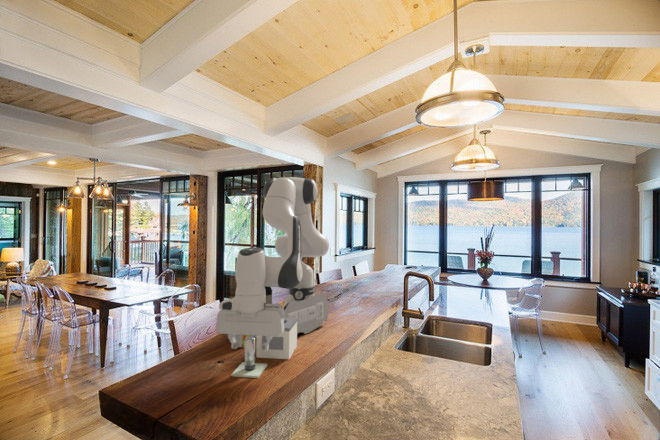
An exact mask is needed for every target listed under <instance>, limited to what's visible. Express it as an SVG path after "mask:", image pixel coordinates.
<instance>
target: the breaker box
mask: <svg viewBox="0 0 660 440" xmlns="http://www.w3.org/2000/svg"><path fill="white" fill-rule="evenodd" d="M267 340H268V339H266V336H258V335H257V337H256V344H255V358H261V359H279V360H280V359H281V360H290V359H291V357H292V355H293V354H294V352H295V351H296V349H297V347H298V333H297V318H284V332H283V333H282V335H280V336H279V337H277V336H273V337H272V339H271V341H270V343H269V349H268V350H267V351H264V350H262V345H263V344H264V343H266V342H267ZM294 350H295V351H294Z"/></svg>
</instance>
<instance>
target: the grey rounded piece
mask: <svg viewBox="0 0 660 440" xmlns="http://www.w3.org/2000/svg"><path fill="white" fill-rule="evenodd" d="M244 362H245V370H246V371H252V370H254V369H255V363H256V338H255V337H246V338H245V347H244Z"/></svg>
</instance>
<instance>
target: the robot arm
mask: <svg viewBox="0 0 660 440" xmlns="http://www.w3.org/2000/svg"><path fill="white" fill-rule="evenodd" d="M318 193H319V190H318V186H317V182H316V181H315V180H314V179H312V178H309V177H306V178H303V177H297V176H290V177H272V178H271V177H270V178H269V179H268V180H267V181H265V183H264V186H263V194H264V195H263V196H264V198H265V199H264V203H263V206H262V207H263V208H262V217H263V218H264V221H265V222H266V223H267V224H268V225H269V226H270V227H272V228H274V229H275V230H278V231H281V232H283V233H285V234H280V235H278V237H277V238H276V239H275V242H274V243H275V244H274V248H275V251H276V253H277V254H278V256H267V255H265V251H264V249H263V247H262V248H261V247H256V246H253V247H251V246H250V247H246V248H243V249H240V250H239V251H238V254H237V258H236V262H235V263H236V265H235V283H236V289H235V295H234V296H232V297H231V296H230V297H229V298H226V299H225V300H222V301H221V302H220V303H219V304H218V309H219V311H218V312H217V313H216V314H217V315H216V321H215V330H216V332H217V333H218V334H221V335H222V334H223V335H224V334H225V335H227V338H228V340H229V342H230V344H231V343H232V347H231V349H232V350H233V349H234V350H237V349H238V347H239V345H238V344H239V341H236V340H235V337H234V335H235V334H239V335H258V336H266V339H268V340H267V342H266V343H264V344H263V345H262V350H264V351H267V350H268V349H269V343H270V341H271V339H272V337H273V336H277V337H279V336H280V335H282V333H283V332H284V315H285V310H284V307H285V306H286V305H287V304H288V303H289V302H298V301H301V300H304V299H306V298H307V297H308V296H313V295H315V286H314V270H313V268H312V267H311V266H310V265H308V264H306V263H304V262H303V260H302V258H318V257H323V256H326V255H327V253H328V251H329V249H330V242H329V240H328V238H327V237H326V236H325V235H324V234H322V233H321V232H320V231H318V229H317V228H316V226H315V224H314V222H313V217H312V207H311V204H313V203H314V202H315V201H316V200H317V197H318ZM265 286H266V287H271V288H280V289H287V290H288V294H289V295H287V297H286V298H285V306H283V305H281V303H273V302H272V303H266V290H265Z"/></svg>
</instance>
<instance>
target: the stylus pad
mask: <svg viewBox="0 0 660 440" xmlns="http://www.w3.org/2000/svg"><path fill="white" fill-rule="evenodd" d="M267 367H268V363H261V362H260V363H259V362H255V369H254V370H252V371H246V370H245V361H244V362H243V361H242V362H241V363H240V364H239V365H238V366H237V368H235V369H234V371H233V372H232V373H231V375H230V376H231V377H237V378H248V379H249V378H252V379H254V378H255V379H259V378H260V376H261V375H262V374H263V372H264V371H265V369H266V368H267Z"/></svg>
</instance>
